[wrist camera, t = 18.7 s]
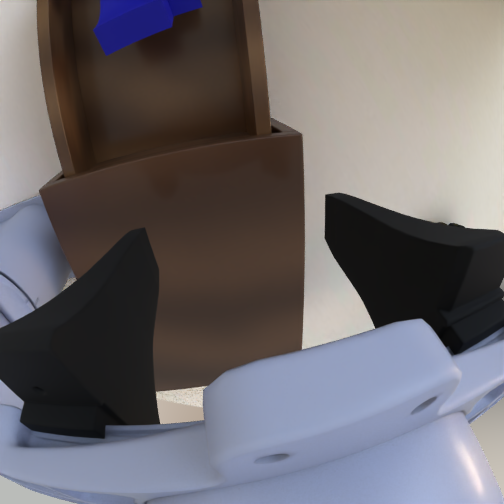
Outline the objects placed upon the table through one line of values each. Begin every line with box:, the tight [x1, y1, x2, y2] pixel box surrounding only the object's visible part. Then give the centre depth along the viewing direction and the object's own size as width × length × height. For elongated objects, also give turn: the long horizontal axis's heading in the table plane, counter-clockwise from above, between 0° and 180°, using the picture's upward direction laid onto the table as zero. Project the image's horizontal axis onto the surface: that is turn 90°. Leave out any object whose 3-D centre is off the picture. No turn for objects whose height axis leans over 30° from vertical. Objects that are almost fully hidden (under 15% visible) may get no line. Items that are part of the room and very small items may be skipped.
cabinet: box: [39, 117, 305, 391], centre depth 21 cm, size 20×14×7 cm
